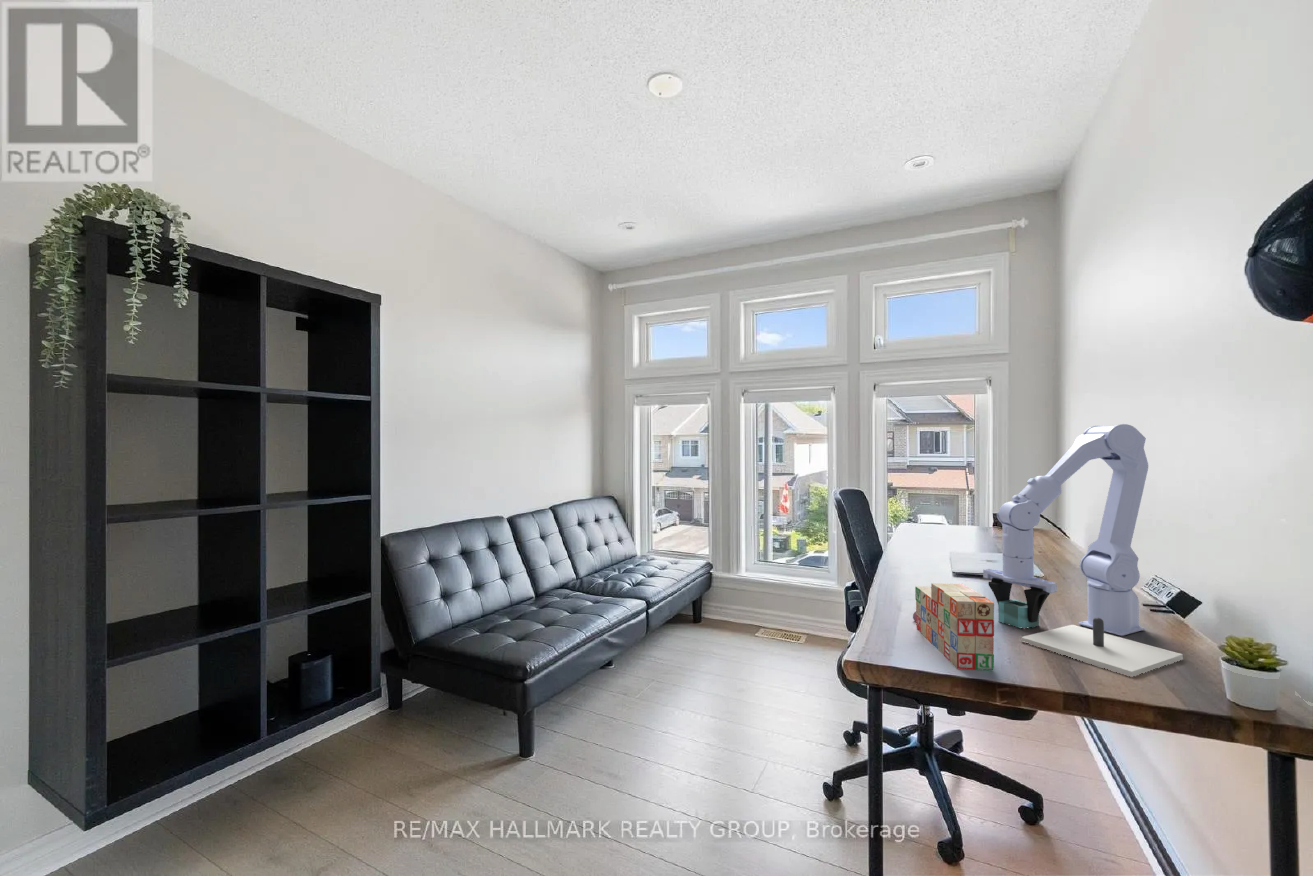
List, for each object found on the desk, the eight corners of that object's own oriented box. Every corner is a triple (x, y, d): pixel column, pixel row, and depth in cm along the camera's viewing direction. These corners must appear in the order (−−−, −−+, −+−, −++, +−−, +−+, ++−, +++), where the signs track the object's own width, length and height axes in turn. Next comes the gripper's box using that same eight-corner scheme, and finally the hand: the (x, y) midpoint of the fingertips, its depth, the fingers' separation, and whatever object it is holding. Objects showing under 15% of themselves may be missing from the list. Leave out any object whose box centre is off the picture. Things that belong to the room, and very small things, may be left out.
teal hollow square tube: (1013, 618, 121) (1013, 599, 121) (1038, 626, 116) (1038, 605, 116) (998, 621, 119) (998, 601, 119) (1023, 629, 114) (1023, 608, 114)
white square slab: (1072, 629, 114) (1072, 599, 114) (1182, 659, 98) (1182, 625, 98) (1021, 642, 106) (1020, 610, 107) (1131, 677, 90) (1131, 640, 90)
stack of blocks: (915, 628, 115) (914, 571, 115) (946, 630, 114) (945, 572, 114) (957, 669, 93) (956, 599, 94) (995, 672, 93) (994, 601, 93)
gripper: (974, 551, 123) (975, 610, 122) (1042, 564, 109) (1043, 630, 109) (993, 549, 126) (994, 606, 125) (1062, 561, 112) (1062, 625, 112)
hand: (1018, 617), depth 117 cm, fingers closed on teal hollow square tube, 5 cm apart
